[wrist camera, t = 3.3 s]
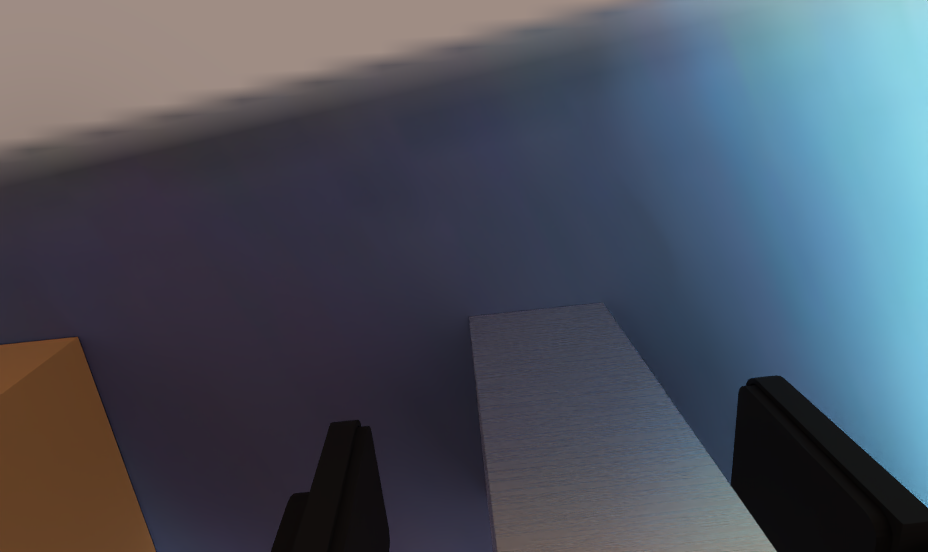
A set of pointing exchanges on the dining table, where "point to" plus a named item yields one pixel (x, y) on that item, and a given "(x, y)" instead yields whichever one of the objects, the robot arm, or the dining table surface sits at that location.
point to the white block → (592, 444)
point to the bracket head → (61, 457)
